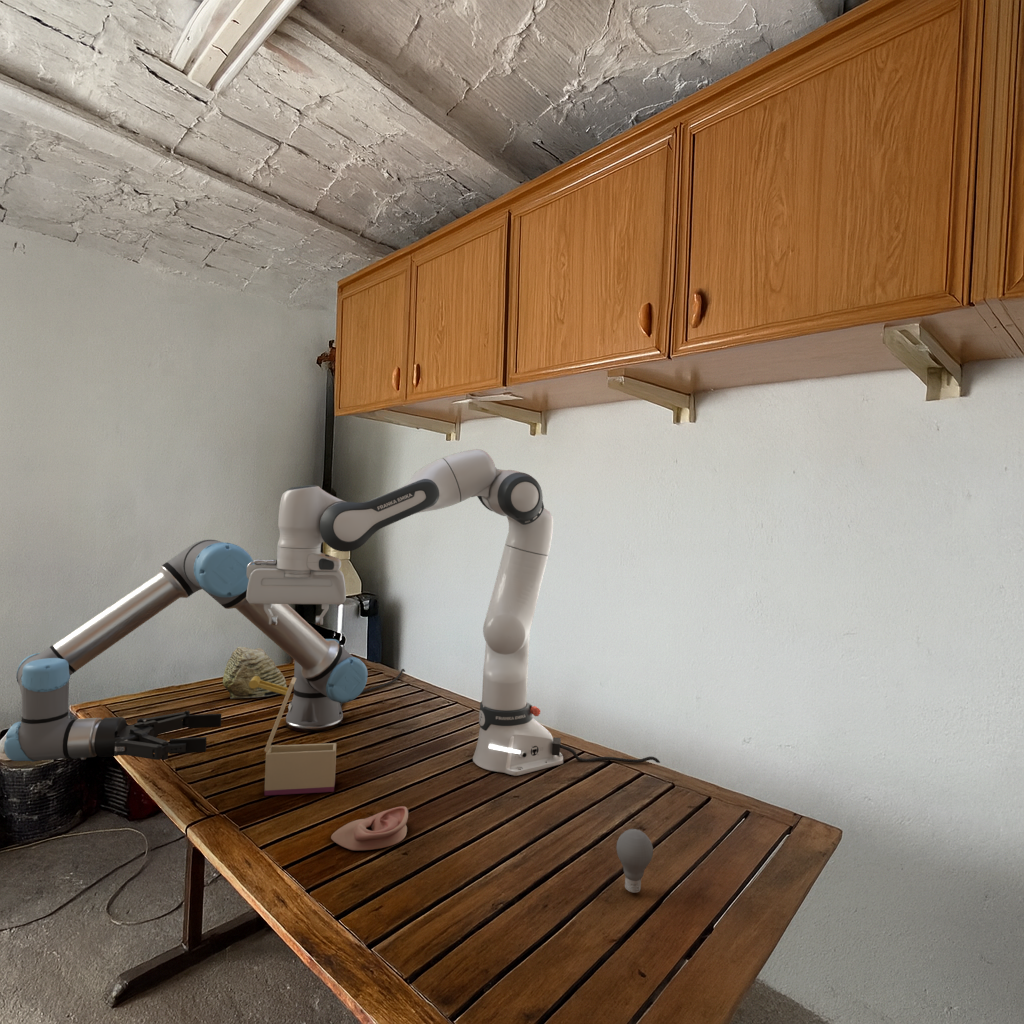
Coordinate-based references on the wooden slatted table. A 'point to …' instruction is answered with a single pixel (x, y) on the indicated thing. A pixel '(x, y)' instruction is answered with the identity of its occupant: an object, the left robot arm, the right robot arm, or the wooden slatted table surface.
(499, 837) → the wooden slatted table surface
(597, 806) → the wooden slatted table surface
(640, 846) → the light bulb
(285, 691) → the lid
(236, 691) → the fossil
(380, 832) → the anatomical model
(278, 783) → the purple-based tan box
